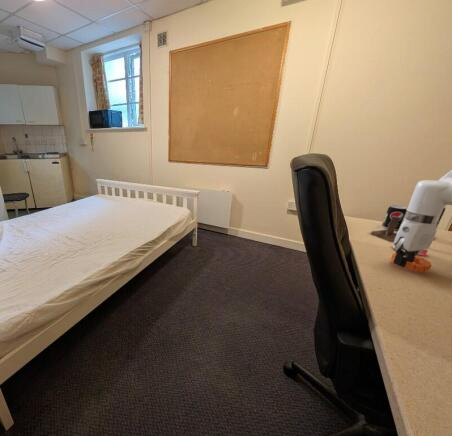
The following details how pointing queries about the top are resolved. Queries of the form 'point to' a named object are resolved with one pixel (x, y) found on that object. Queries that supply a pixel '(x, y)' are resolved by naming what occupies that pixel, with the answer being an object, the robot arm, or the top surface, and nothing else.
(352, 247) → the top surface
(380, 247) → the top surface
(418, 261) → the orange ring
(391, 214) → the beverage can
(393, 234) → the rack
